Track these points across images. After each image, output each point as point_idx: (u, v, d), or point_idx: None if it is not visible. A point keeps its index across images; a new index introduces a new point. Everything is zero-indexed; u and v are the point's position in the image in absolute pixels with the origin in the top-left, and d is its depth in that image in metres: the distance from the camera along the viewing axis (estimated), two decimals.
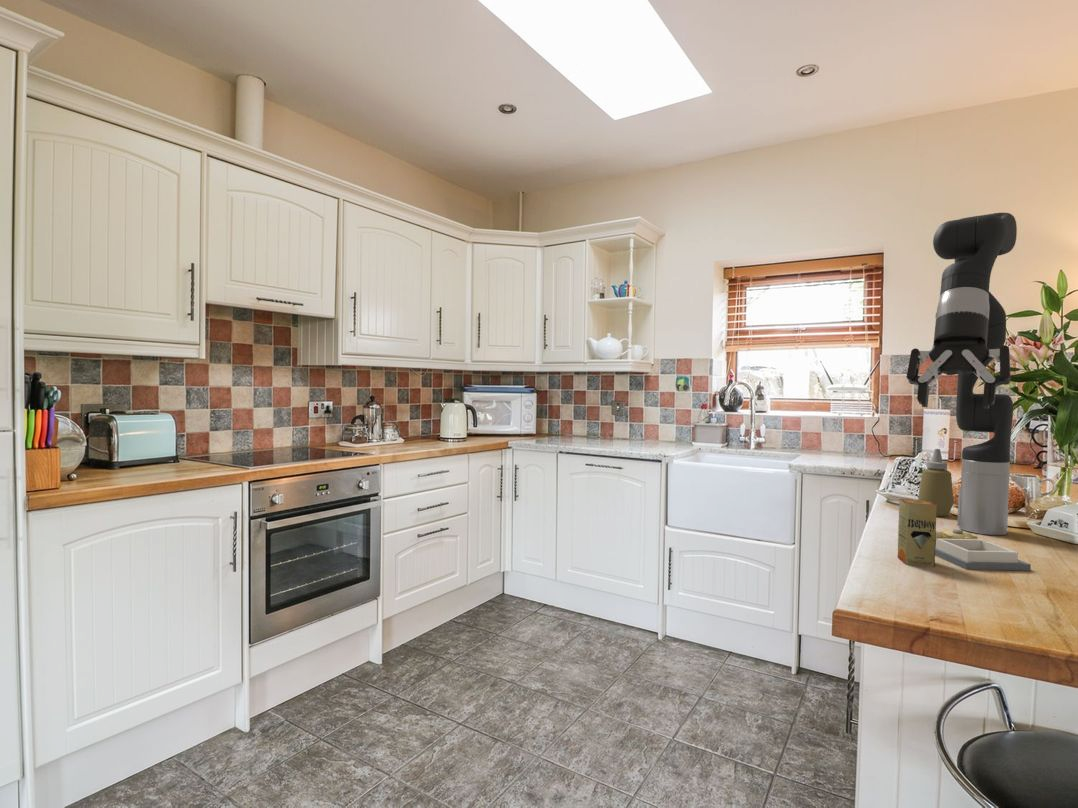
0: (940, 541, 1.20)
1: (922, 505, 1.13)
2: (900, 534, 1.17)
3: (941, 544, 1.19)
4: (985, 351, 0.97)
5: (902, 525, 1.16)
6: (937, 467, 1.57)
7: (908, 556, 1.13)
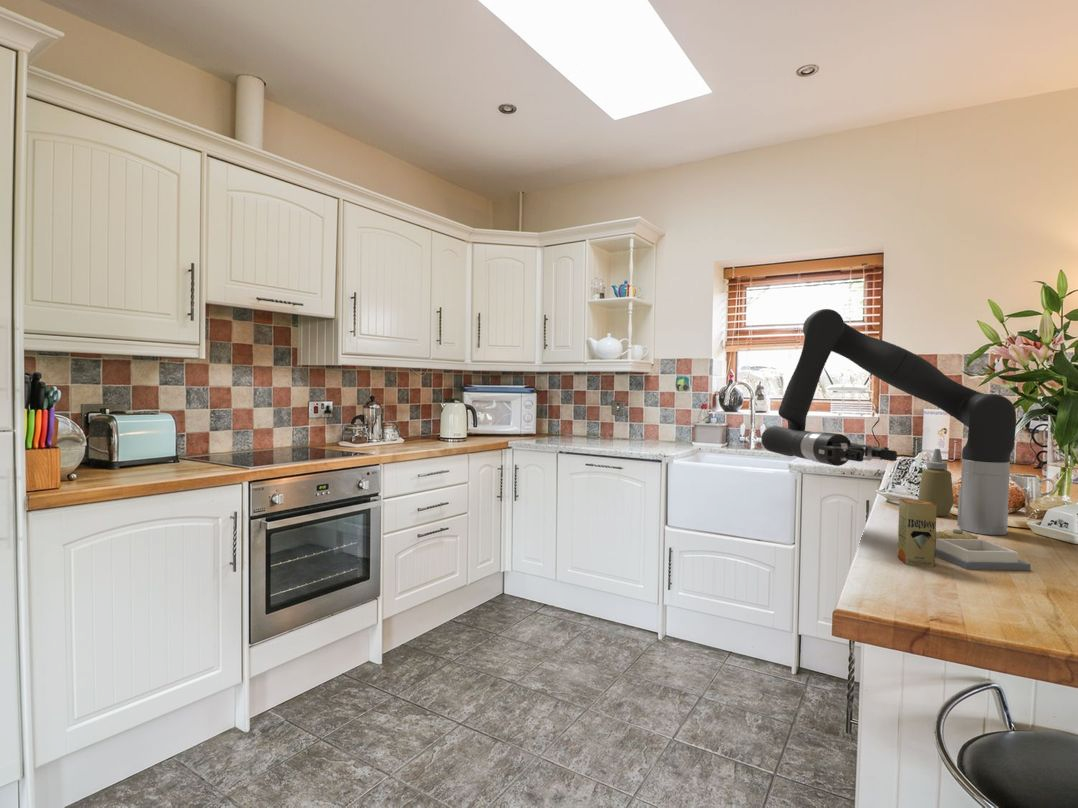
0: (940, 541, 1.20)
1: (922, 505, 1.13)
2: (900, 534, 1.17)
3: (941, 544, 1.19)
4: (831, 455, 1.33)
5: (902, 525, 1.16)
6: (937, 467, 1.57)
7: (908, 556, 1.13)
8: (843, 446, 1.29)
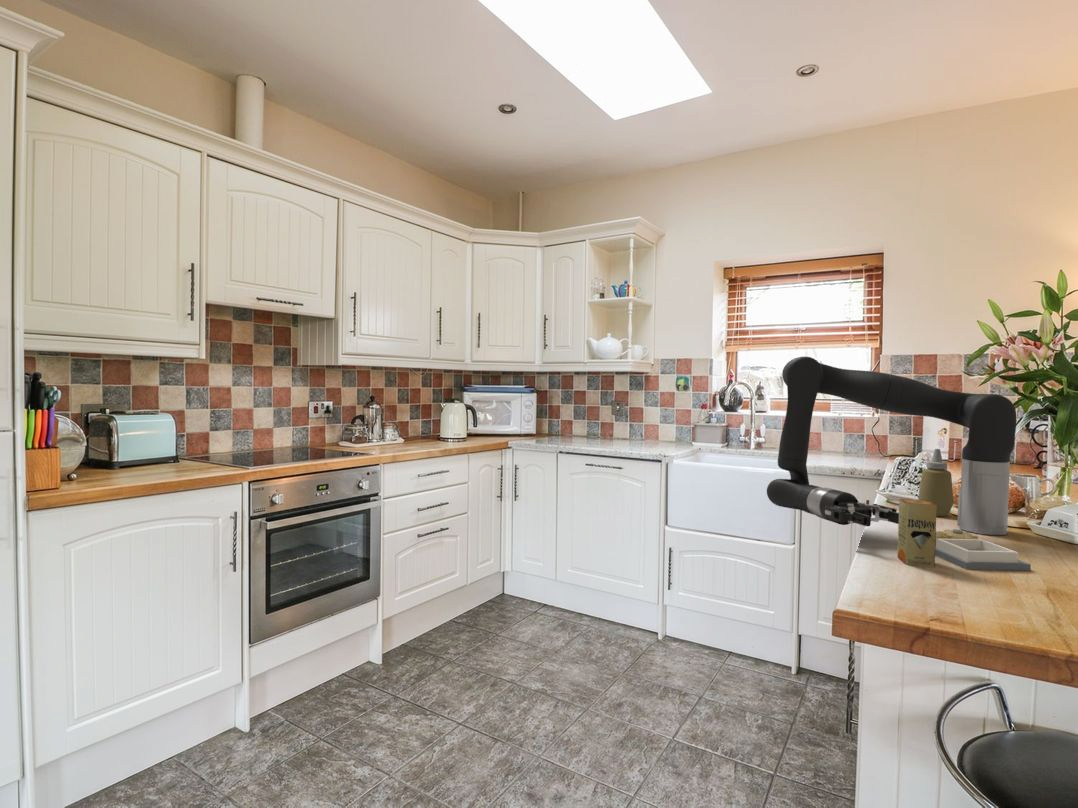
0: (940, 541, 1.20)
1: (922, 505, 1.13)
2: (900, 534, 1.17)
3: (941, 544, 1.19)
4: None
5: (902, 525, 1.16)
6: (937, 467, 1.57)
7: (908, 556, 1.13)
8: (850, 508, 1.27)
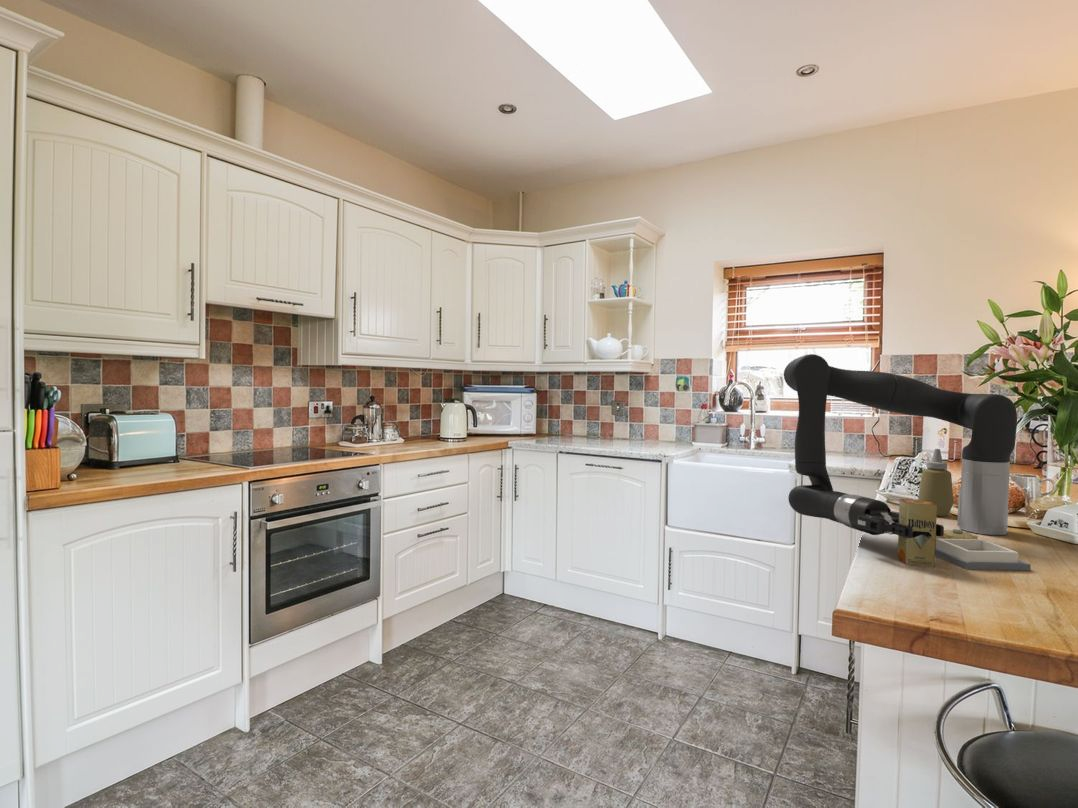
0: (940, 541, 1.20)
1: (922, 505, 1.12)
2: None
3: (941, 544, 1.19)
4: None
5: None
6: (937, 467, 1.57)
7: (908, 556, 1.13)
8: (887, 518, 1.18)
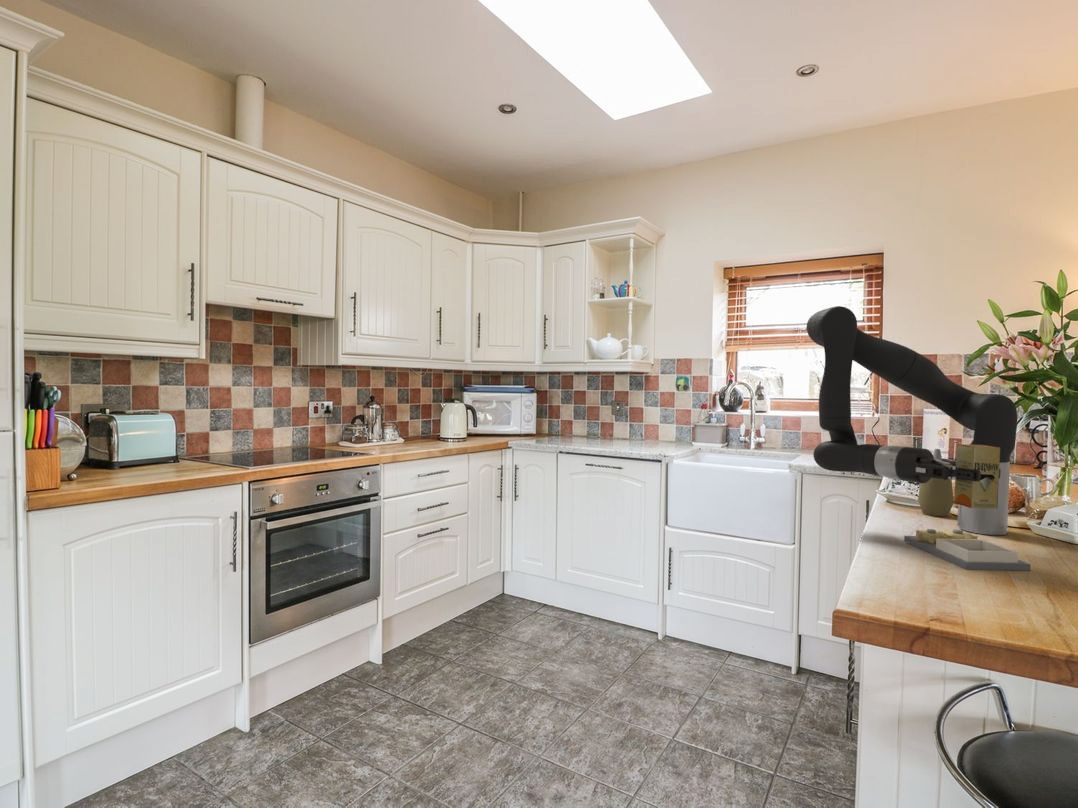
0: (940, 541, 1.20)
1: (987, 448, 1.13)
2: (960, 479, 1.17)
3: (941, 544, 1.19)
4: None
5: None
6: None
7: (974, 500, 1.14)
8: (946, 463, 1.18)
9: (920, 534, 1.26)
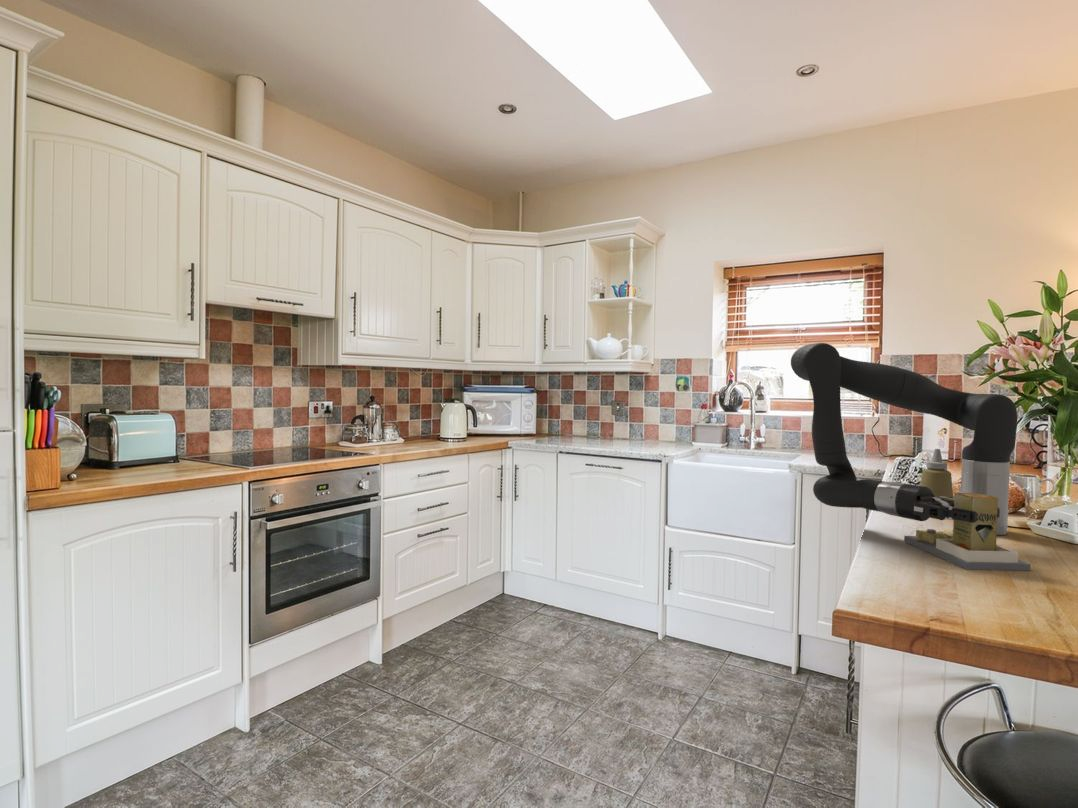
0: (940, 541, 1.20)
1: (985, 498, 1.14)
2: (958, 528, 1.17)
3: (941, 544, 1.19)
4: None
5: None
6: (937, 467, 1.57)
7: (973, 550, 1.14)
8: (943, 503, 1.18)
9: (920, 534, 1.26)
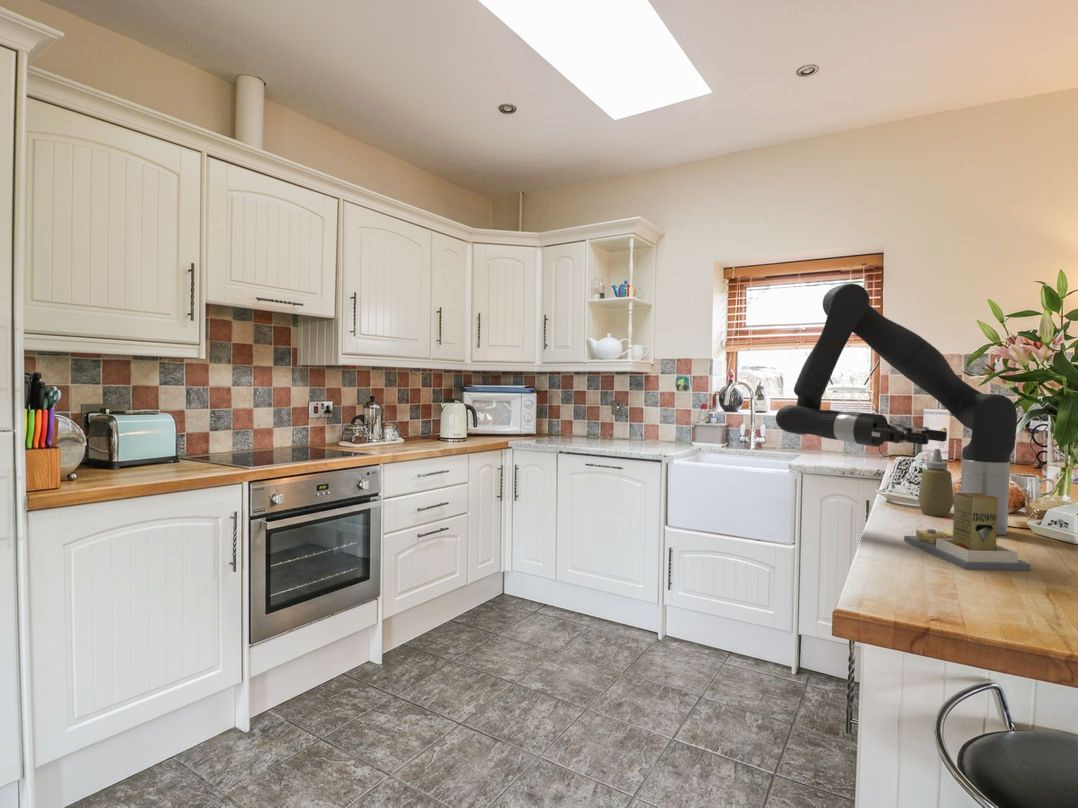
0: (940, 541, 1.20)
1: (985, 498, 1.13)
2: (958, 528, 1.17)
3: (941, 544, 1.19)
4: None
5: (961, 519, 1.16)
6: (937, 467, 1.57)
7: (973, 550, 1.14)
8: (898, 428, 1.26)
9: (920, 534, 1.26)
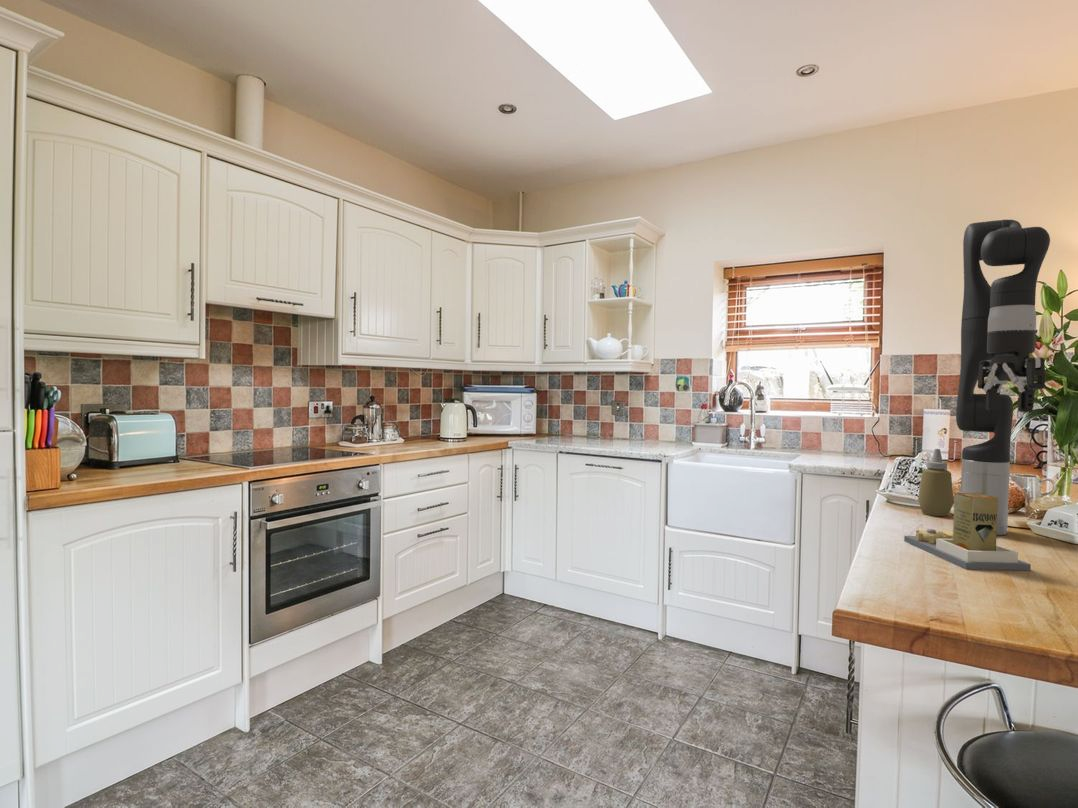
0: (940, 541, 1.20)
1: (985, 498, 1.14)
2: (958, 528, 1.17)
3: (941, 544, 1.19)
4: (1019, 362, 1.13)
5: (961, 519, 1.16)
6: (937, 467, 1.57)
7: (973, 550, 1.14)
8: None
9: (920, 534, 1.26)
